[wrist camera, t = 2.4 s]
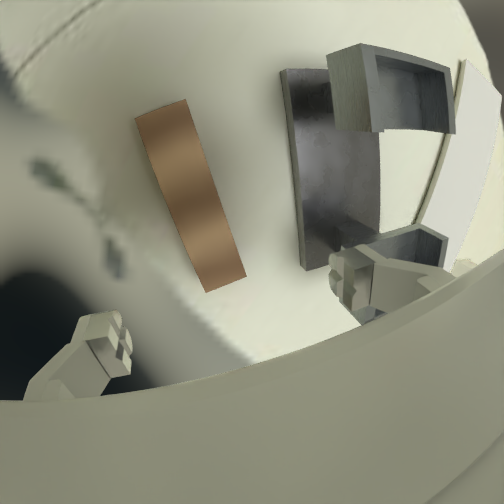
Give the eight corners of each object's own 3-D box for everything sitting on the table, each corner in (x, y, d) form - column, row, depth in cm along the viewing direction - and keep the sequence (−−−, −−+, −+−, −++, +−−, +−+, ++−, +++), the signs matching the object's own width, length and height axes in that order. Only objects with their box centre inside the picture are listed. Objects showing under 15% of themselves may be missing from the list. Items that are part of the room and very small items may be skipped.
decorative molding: (390, 246, 38) (430, 266, 39) (405, 257, 34) (446, 277, 35) (449, 64, 28) (484, 97, 29) (466, 58, 23) (501, 96, 25)
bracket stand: (279, 71, 22) (356, 39, 11) (363, 75, 24) (450, 66, 13) (300, 265, 31) (360, 330, 20) (370, 244, 33) (438, 291, 22)
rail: (140, 121, 21) (134, 118, 17) (183, 104, 21) (185, 99, 18) (200, 272, 28) (205, 293, 25) (236, 257, 29) (246, 276, 25)
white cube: (468, 259, 43) (489, 272, 38) (458, 285, 45) (477, 299, 40) (455, 259, 41) (478, 273, 36) (444, 287, 44) (465, 303, 38)
